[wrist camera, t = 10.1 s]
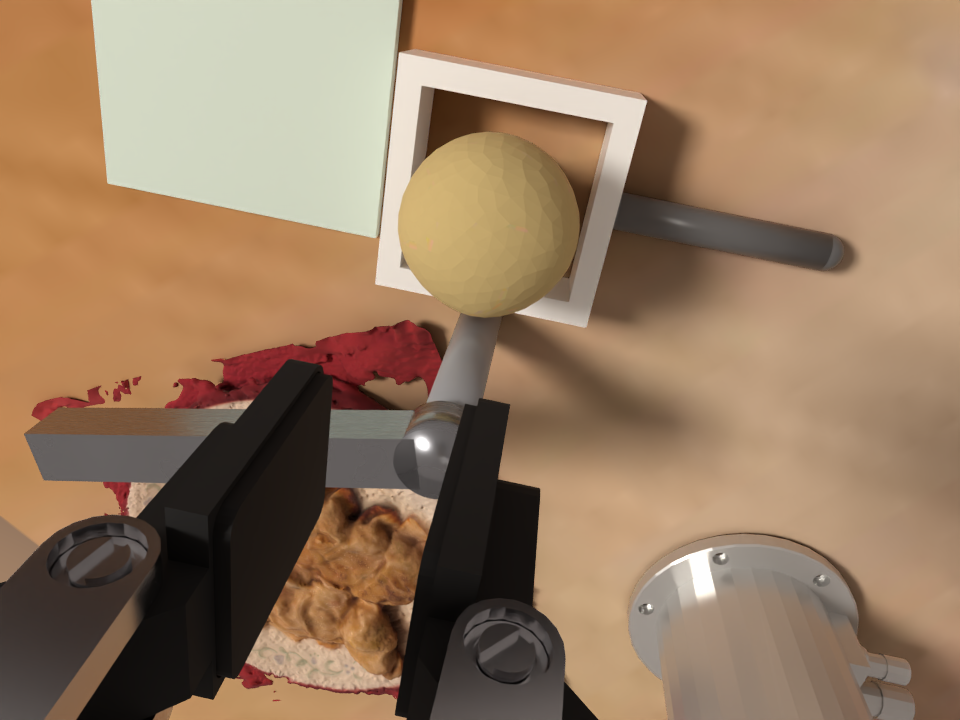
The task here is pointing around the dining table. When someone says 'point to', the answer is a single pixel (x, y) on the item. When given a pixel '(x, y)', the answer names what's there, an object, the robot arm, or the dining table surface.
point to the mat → (251, 103)
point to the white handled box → (605, 209)
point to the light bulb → (488, 224)
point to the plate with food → (327, 523)
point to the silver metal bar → (178, 432)
